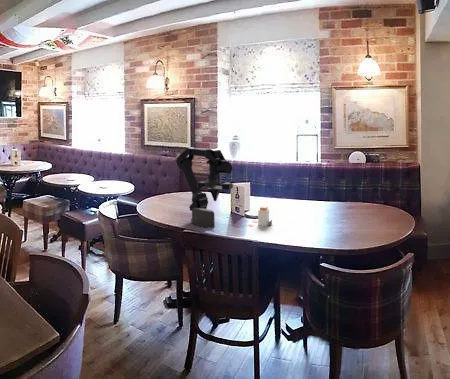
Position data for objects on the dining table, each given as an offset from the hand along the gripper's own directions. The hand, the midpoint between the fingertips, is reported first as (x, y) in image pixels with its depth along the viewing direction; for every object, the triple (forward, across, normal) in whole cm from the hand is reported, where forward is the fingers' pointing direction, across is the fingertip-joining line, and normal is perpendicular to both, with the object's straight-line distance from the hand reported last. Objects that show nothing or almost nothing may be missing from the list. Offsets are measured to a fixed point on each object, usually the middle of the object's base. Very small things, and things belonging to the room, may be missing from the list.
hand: (215, 201), depth 217 cm
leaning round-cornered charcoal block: (+13, -4, -7) cm, 16 cm away
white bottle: (+12, +26, +4) cm, 29 cm away
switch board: (+13, +22, +5) cm, 26 cm away
